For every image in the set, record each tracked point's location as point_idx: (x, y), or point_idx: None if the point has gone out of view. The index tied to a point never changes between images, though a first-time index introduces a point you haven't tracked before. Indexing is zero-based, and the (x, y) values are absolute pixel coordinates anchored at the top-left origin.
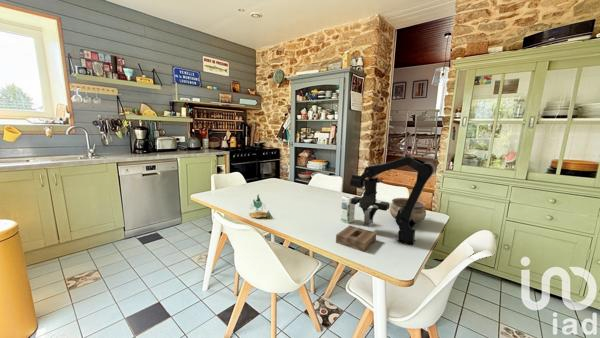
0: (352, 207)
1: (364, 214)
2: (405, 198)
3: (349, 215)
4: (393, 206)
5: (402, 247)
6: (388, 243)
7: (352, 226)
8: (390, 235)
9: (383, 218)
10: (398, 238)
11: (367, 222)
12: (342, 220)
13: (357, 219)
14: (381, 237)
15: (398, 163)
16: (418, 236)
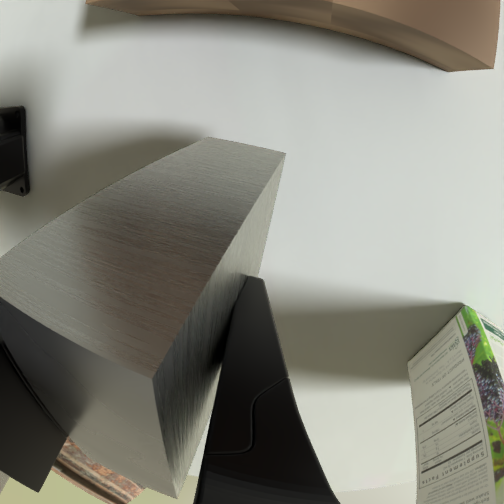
0: (450, 473)
1: (227, 249)
2: (98, 497)
3: (475, 375)
4: (95, 466)
5: (8, 54)
6: (60, 39)
7: (446, 30)
8: (75, 188)
9: (209, 421)
10: (16, 135)
11: (203, 153)
12: (501, 331)
13: (375, 393)
14: (111, 107)
15: None
16: (5, 246)
